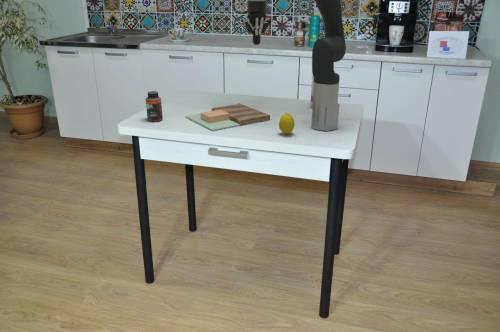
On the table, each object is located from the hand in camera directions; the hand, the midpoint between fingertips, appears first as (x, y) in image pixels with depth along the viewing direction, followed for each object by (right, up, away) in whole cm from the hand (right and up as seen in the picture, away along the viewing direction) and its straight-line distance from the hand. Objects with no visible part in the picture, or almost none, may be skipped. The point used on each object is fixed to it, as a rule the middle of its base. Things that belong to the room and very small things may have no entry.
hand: (256, 44), depth 193 cm
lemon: (+10, -38, -22) cm, 46 cm away
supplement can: (+28, -25, +12) cm, 39 cm away
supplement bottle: (-40, -32, -6) cm, 52 cm away
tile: (-16, -31, -7) cm, 36 cm away
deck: (-7, -29, -1) cm, 30 cm away
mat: (-18, -32, -8) cm, 37 cm away
